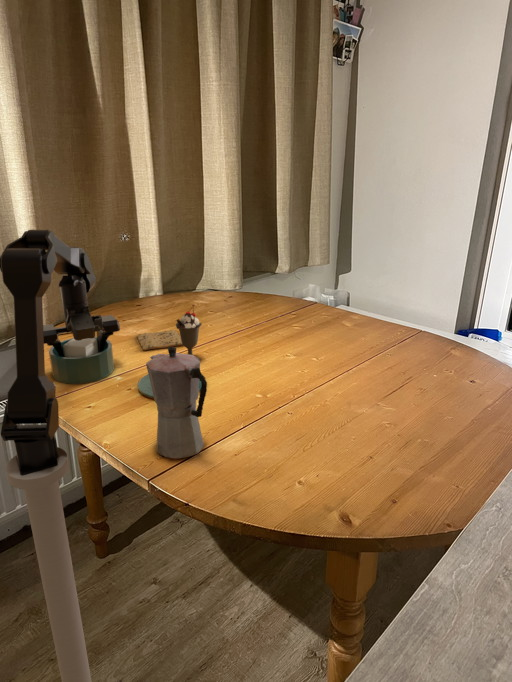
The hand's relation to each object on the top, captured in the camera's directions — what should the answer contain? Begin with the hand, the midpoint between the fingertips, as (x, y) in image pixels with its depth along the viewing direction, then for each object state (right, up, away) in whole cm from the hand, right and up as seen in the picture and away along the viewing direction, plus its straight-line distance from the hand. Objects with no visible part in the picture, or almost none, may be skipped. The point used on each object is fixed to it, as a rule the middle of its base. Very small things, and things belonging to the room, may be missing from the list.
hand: (82, 361), depth 125 cm
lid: (+23, -5, -7) cm, 25 cm away
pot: (0, -3, +1) cm, 3 cm away
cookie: (+16, +5, +21) cm, 26 cm away
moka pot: (+29, -15, -30) cm, 45 cm away
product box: (0, -2, +1) cm, 2 cm away
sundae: (+26, 0, +8) cm, 27 cm away
